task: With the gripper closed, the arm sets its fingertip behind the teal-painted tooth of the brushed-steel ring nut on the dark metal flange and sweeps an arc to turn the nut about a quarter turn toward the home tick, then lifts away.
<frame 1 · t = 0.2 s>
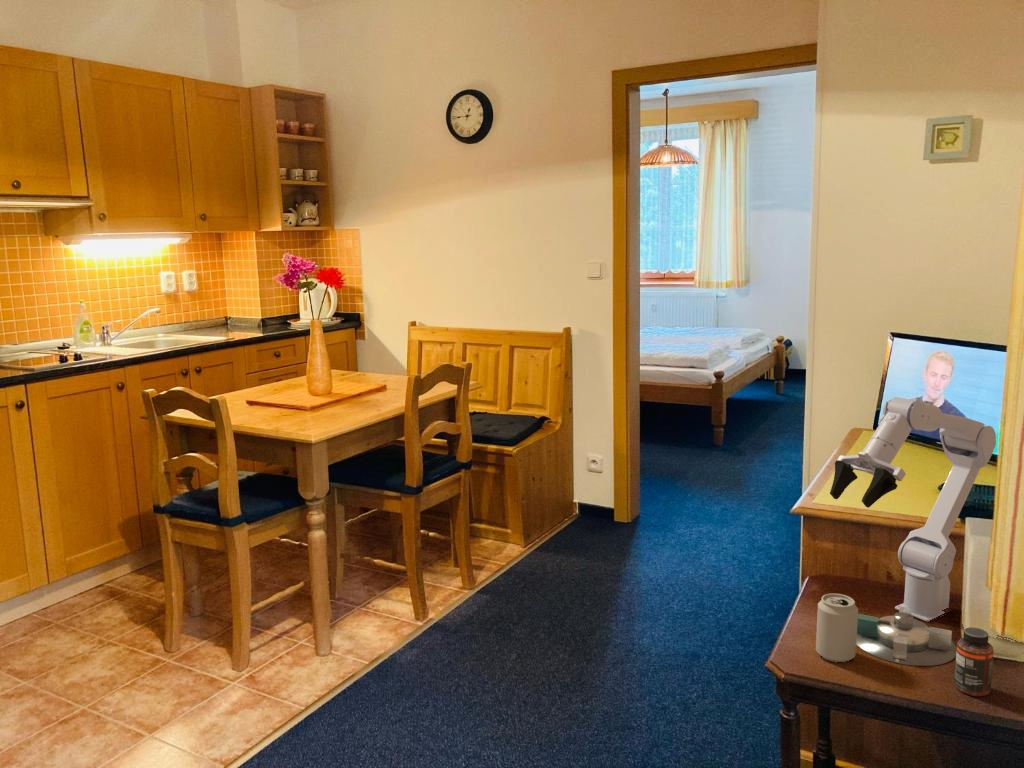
hand: (848, 500, 168), 31 cm above the table, tool tilted 45°, fingers open, 7 cm apart
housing: (902, 641, 174), on the table
can: (835, 656, 169), on the table
supplement bottle: (971, 690, 156), on the table
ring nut: (902, 632, 174), point 2 cm above the table, hinge at 0.0°
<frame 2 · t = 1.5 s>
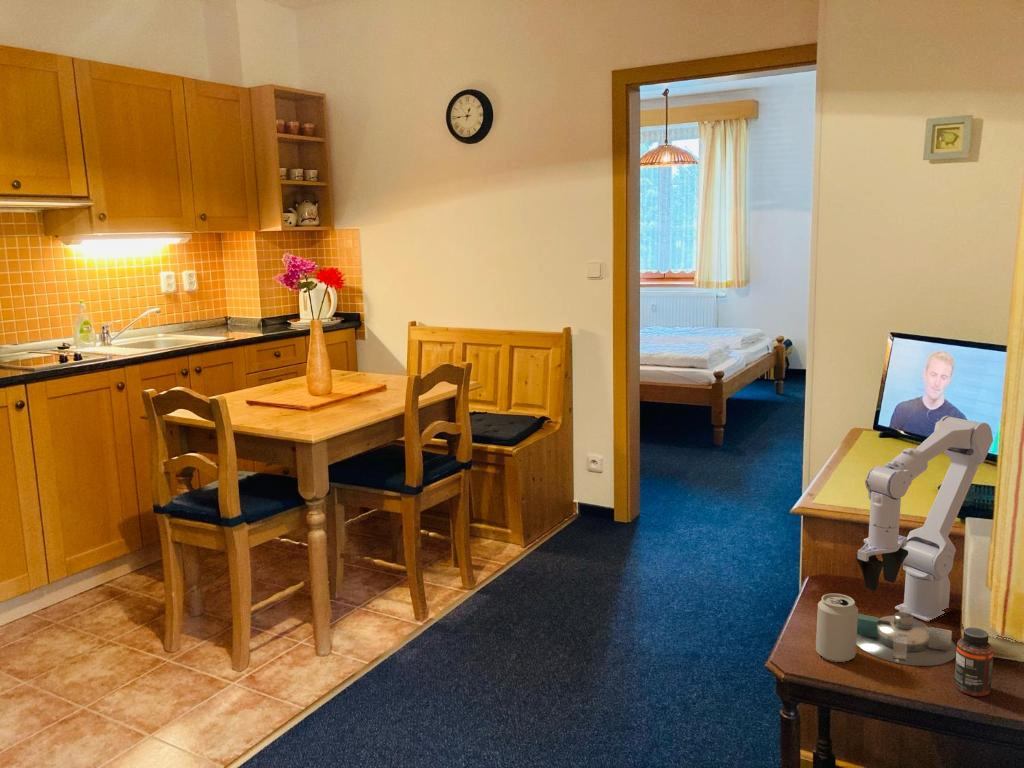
hand: (880, 584, 179), 9 cm above the table, tool pointing down, fingers open, 6 cm apart
nothing on the table moved.
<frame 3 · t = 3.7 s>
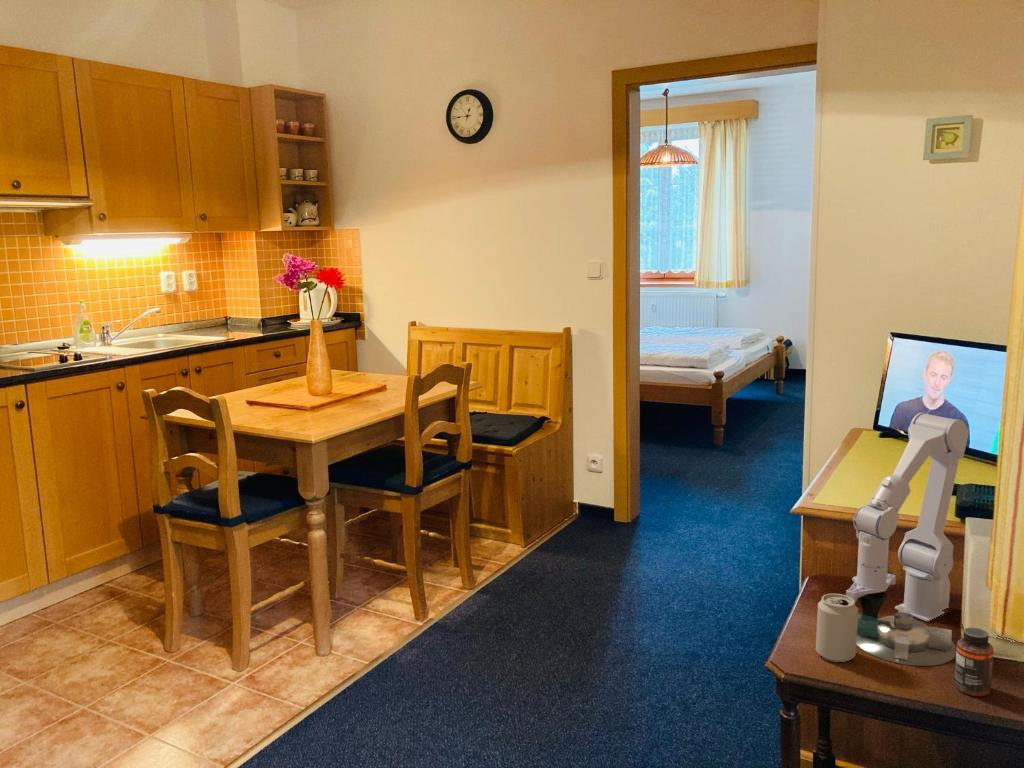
hand: (869, 623, 179), 2 cm above the table, tool pointing down, fingers closed, pressing on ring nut
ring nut: (902, 632, 174), point 2 cm above the table, hinge at 1.7°, touching gripper
everything else where it was.
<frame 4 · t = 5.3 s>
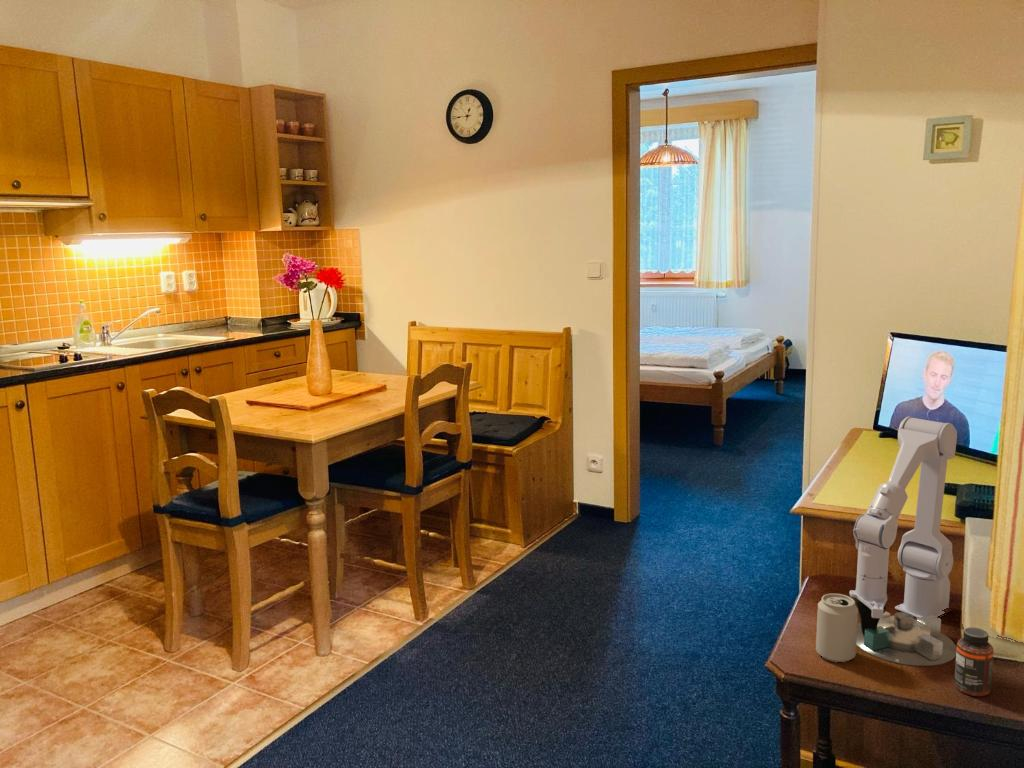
hand: (868, 635, 174), 1 cm above the table, tool pointing down, fingers closed, pressing on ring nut
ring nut: (902, 632, 174), point 2 cm above the table, hinge at 48.2°, touching gripper
everything else where it was.
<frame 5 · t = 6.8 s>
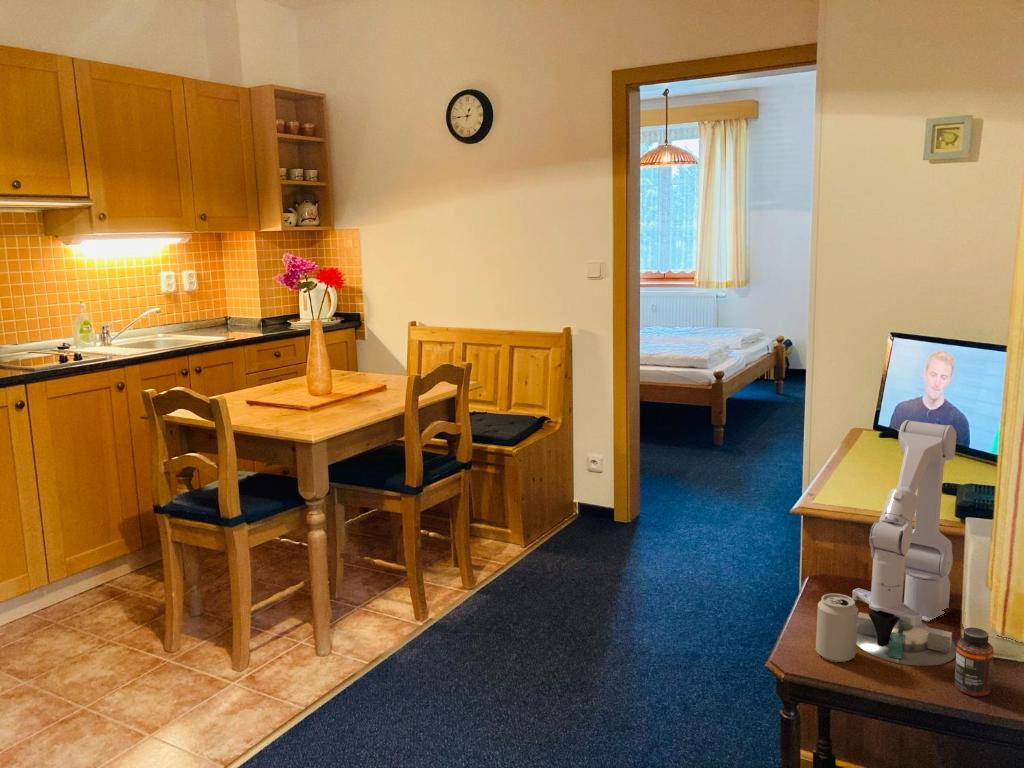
hand: (883, 644, 170), 2 cm above the table, tool pointing down, fingers closed
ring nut: (902, 632, 174), point 2 cm above the table, hinge at 84.3°, touching gripper
everything else where it was.
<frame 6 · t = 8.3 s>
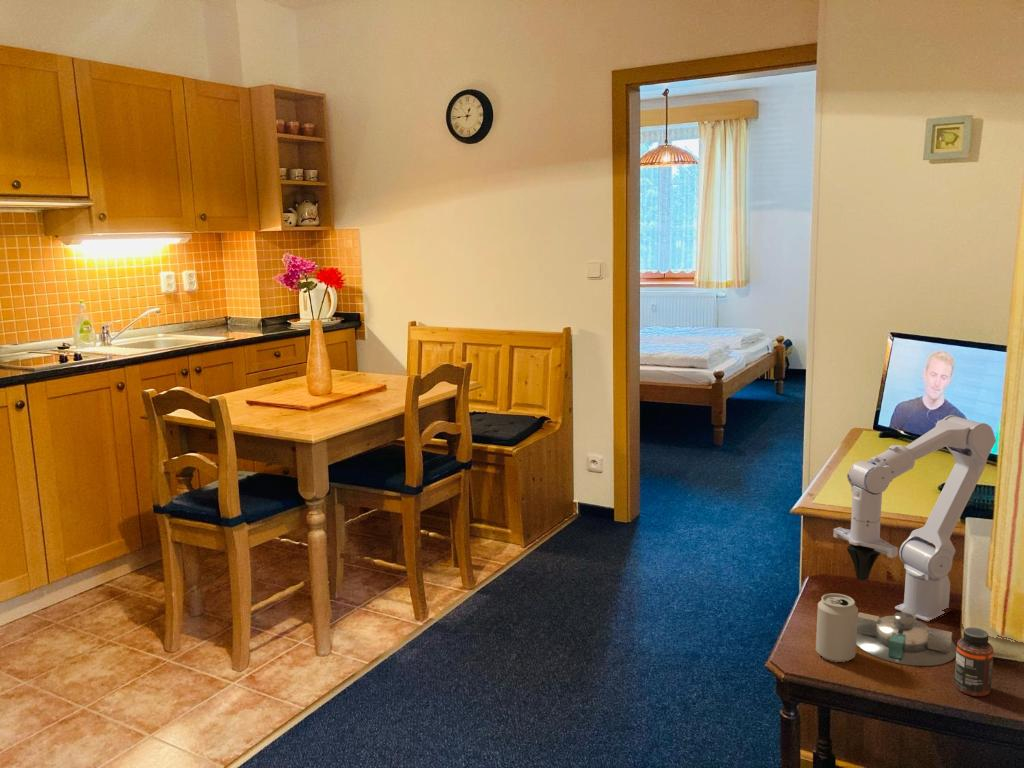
hand: (862, 578, 182), 10 cm above the table, tool pointing down, fingers closed
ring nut: (902, 632, 174), point 2 cm above the table, hinge at 84.8°
everything else where it was.
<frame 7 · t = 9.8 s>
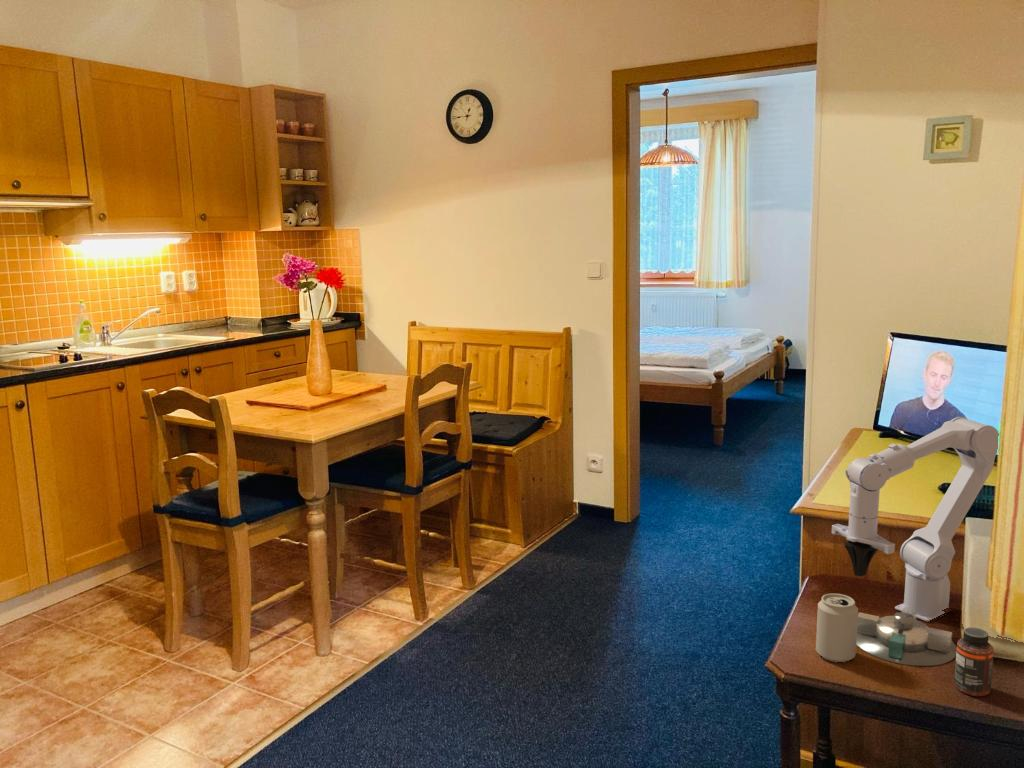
hand: (860, 574, 183), 10 cm above the table, tool pointing down, fingers closed
nothing on the table moved.
at the end: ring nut at +85° (first picture: +0°) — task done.
